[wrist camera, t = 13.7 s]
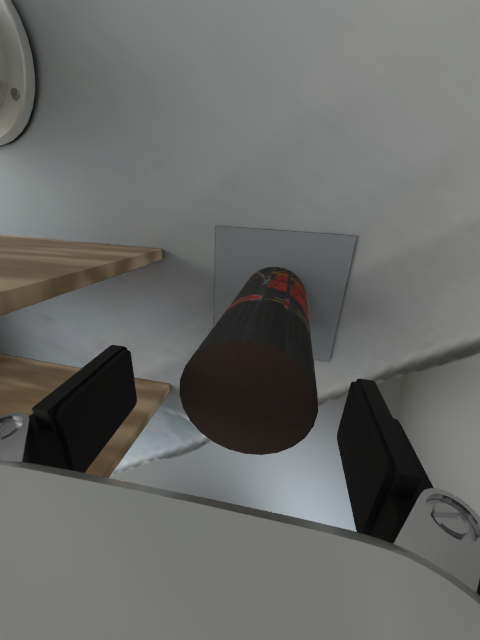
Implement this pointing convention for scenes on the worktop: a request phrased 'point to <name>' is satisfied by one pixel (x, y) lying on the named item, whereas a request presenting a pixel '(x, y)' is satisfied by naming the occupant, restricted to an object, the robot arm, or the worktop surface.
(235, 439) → the deodorant
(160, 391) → the cover
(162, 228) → the worktop surface
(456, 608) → the robot arm
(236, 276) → the mat
